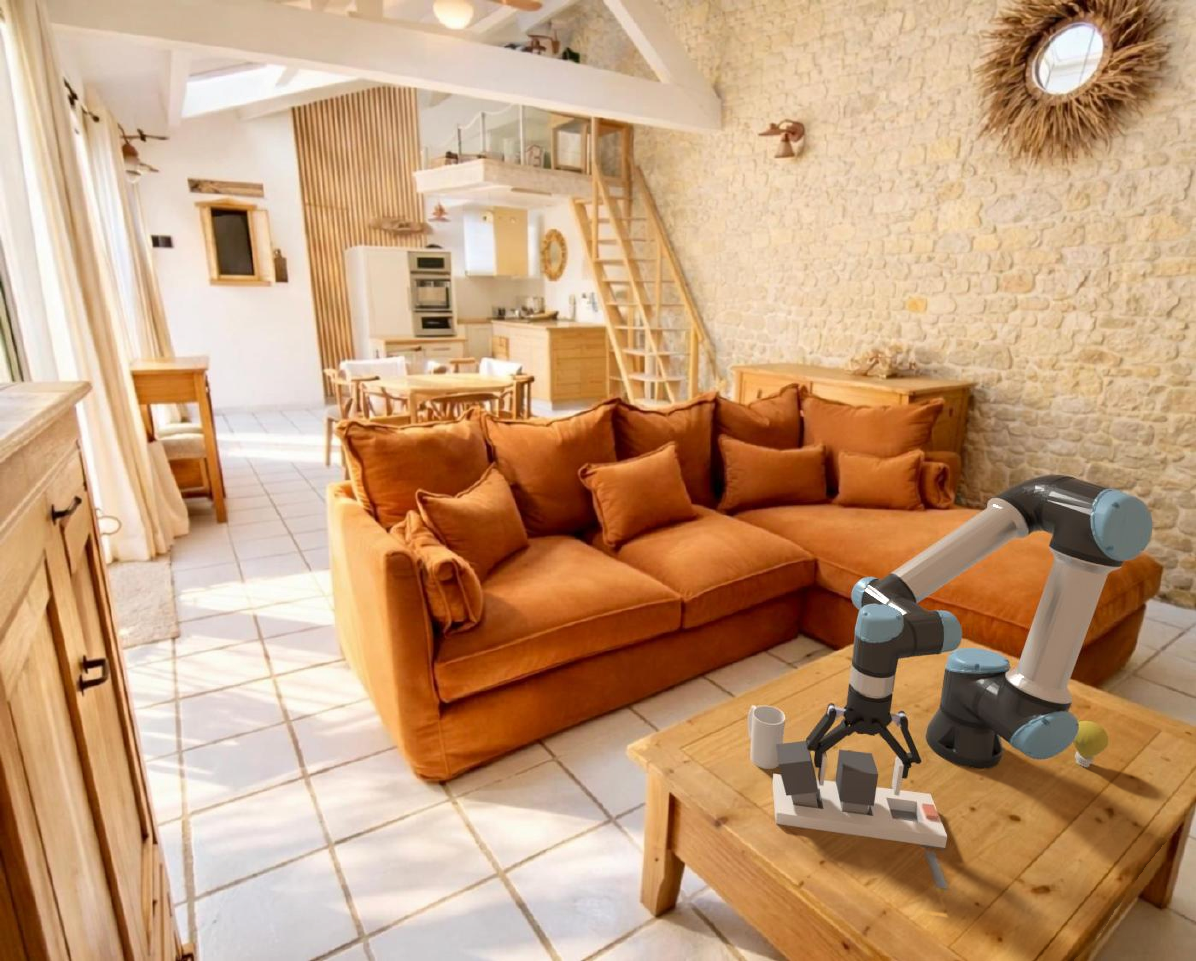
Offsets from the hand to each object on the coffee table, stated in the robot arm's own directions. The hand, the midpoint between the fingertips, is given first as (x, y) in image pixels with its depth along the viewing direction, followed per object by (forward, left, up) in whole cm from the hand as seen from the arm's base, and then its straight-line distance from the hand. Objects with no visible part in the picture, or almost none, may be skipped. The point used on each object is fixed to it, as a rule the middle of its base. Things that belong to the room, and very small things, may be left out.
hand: (857, 785), depth 130 cm
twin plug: (+9, 0, -6) cm, 11 cm away
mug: (+17, -14, -8) cm, 24 cm away
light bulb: (-52, -26, -8) cm, 59 cm away
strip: (0, 0, -7) cm, 7 cm away
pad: (-9, +11, -7) cm, 16 cm away
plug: (+1, 0, -6) cm, 7 cm away
